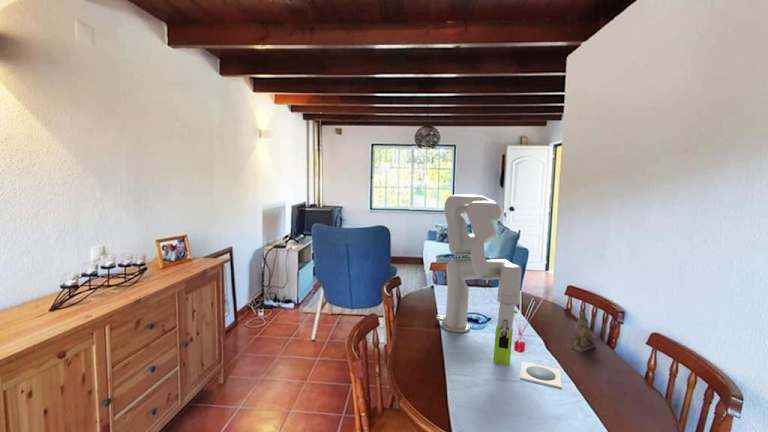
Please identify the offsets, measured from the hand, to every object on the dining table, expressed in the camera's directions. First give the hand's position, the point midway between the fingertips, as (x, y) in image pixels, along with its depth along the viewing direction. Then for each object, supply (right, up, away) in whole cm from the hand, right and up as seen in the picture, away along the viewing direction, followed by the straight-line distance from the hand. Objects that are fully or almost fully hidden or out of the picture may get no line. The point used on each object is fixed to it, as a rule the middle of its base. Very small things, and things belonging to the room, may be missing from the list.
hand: (504, 342), depth 142 cm
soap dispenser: (0, -8, +1) cm, 7 cm away
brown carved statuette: (+38, -8, +17) cm, 42 cm away
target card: (+10, -9, -8) cm, 15 cm away
